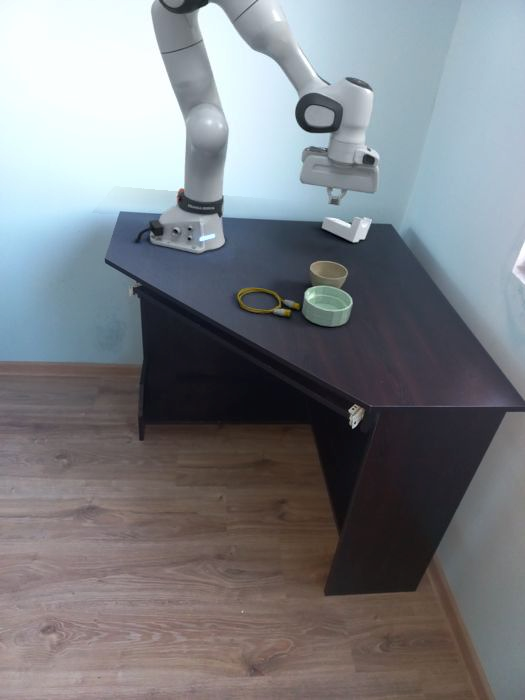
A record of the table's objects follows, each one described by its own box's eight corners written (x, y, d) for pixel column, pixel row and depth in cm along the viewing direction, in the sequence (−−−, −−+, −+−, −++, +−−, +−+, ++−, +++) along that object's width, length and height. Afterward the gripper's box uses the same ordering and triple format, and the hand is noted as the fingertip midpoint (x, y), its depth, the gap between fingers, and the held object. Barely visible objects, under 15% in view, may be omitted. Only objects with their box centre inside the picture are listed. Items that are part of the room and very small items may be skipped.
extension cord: (268, 327, 129) (269, 320, 128) (227, 298, 138) (228, 291, 136) (303, 312, 136) (304, 305, 135) (262, 285, 145) (263, 279, 144)
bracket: (363, 242, 177) (372, 220, 174) (352, 242, 172) (361, 219, 168) (332, 228, 184) (340, 206, 180) (321, 227, 178) (328, 205, 175)
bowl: (301, 324, 131) (304, 307, 128) (301, 299, 141) (304, 283, 138) (349, 330, 131) (354, 313, 128) (346, 305, 141) (350, 288, 138)
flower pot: (341, 286, 149) (346, 263, 145) (343, 304, 141) (349, 280, 137) (305, 281, 149) (309, 258, 145) (306, 300, 141) (310, 276, 137)
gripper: (303, 148, 131) (294, 202, 139) (386, 160, 131) (372, 213, 140) (303, 141, 136) (295, 194, 144) (383, 153, 136) (369, 205, 145)
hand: (333, 203), depth 142 cm, fingers closed
